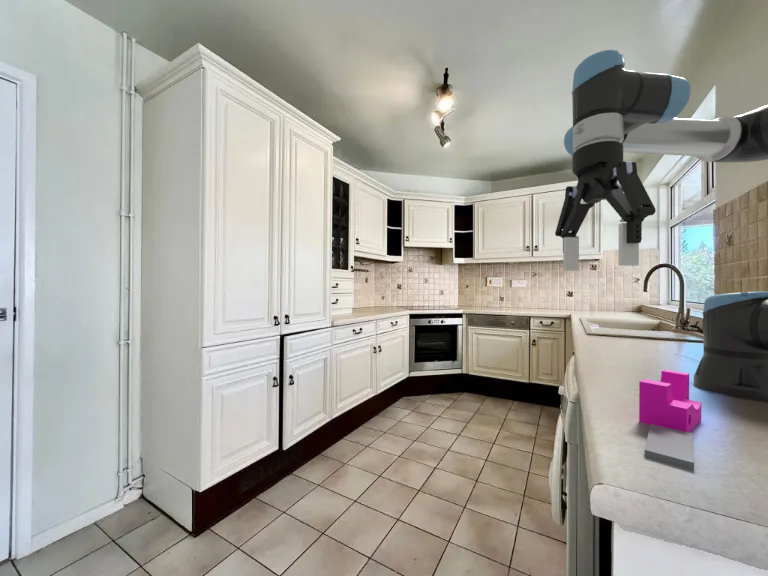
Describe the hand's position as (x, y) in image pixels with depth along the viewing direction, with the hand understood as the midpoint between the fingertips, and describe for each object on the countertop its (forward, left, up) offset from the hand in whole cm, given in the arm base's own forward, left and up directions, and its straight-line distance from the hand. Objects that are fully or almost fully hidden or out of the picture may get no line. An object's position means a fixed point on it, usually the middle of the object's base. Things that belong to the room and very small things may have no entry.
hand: (596, 268), depth 57 cm
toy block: (-16, 0, -28) cm, 32 cm away
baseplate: (-4, +10, -27) cm, 29 cm away
